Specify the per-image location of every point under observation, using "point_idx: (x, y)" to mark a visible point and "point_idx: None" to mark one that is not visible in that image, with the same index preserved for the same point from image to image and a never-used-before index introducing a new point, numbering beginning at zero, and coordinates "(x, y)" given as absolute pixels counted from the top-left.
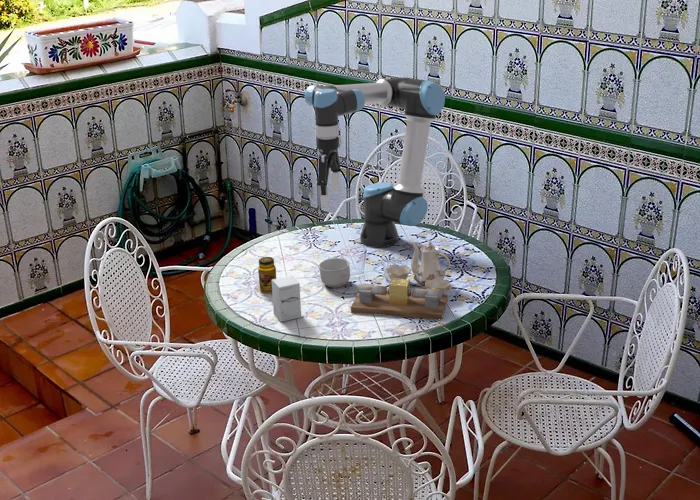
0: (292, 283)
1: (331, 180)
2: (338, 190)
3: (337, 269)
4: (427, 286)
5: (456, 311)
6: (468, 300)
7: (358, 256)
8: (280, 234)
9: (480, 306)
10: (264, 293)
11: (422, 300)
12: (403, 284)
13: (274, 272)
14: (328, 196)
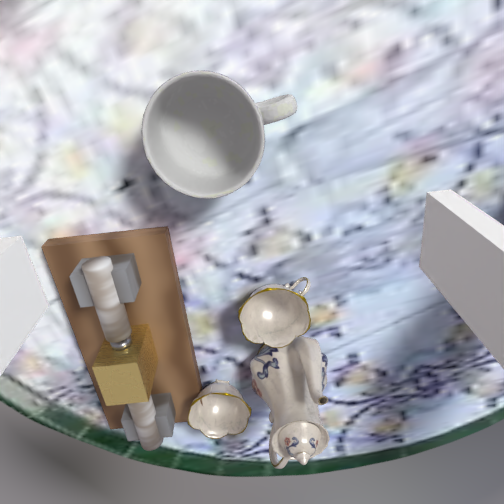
0: None
1: (492, 252)
2: (420, 266)
3: (256, 121)
4: (192, 403)
5: None
6: (223, 437)
7: (450, 121)
8: None
9: (204, 458)
10: None
11: (160, 384)
12: (111, 396)
13: None
14: (6, 355)
